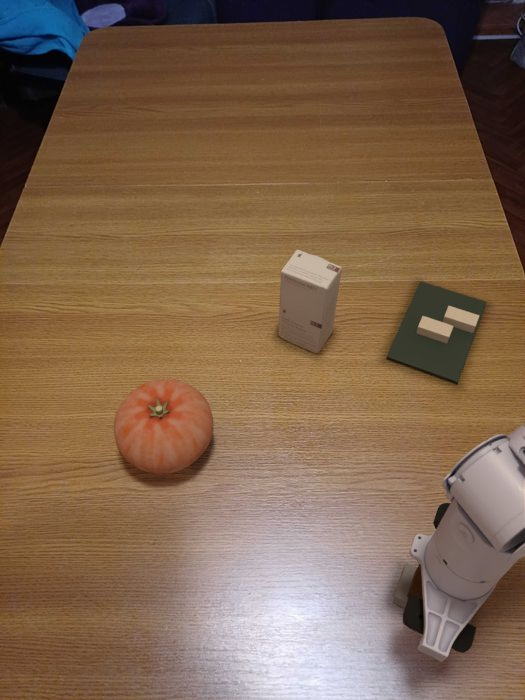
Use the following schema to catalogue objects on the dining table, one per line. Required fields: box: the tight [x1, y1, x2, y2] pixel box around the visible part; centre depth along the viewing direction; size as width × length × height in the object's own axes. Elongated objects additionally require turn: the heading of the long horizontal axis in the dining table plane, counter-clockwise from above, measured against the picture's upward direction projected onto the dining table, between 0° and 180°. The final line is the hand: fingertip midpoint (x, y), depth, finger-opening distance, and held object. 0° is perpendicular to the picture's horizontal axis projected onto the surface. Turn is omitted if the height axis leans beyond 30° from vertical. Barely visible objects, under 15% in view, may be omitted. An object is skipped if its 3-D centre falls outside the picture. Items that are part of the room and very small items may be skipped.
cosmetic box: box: [277, 248, 343, 354], centre depth 74 cm, size 6×4×12 cm
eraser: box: [391, 562, 473, 625], centre depth 57 cm, size 7×4×4 cm, turn 64°
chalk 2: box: [443, 306, 479, 333], centre depth 78 cm, size 4×2×1 cm, turn 64°
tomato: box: [113, 378, 214, 474], centre depth 67 cm, size 11×11×8 cm
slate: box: [385, 280, 487, 385], centre depth 79 cm, size 9×14×1 cm, turn 154°
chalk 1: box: [416, 316, 453, 344], centre depth 77 cm, size 4×2×1 cm, turn 64°
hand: (437, 594), depth 57 cm, fingers open, 6 cm apart
